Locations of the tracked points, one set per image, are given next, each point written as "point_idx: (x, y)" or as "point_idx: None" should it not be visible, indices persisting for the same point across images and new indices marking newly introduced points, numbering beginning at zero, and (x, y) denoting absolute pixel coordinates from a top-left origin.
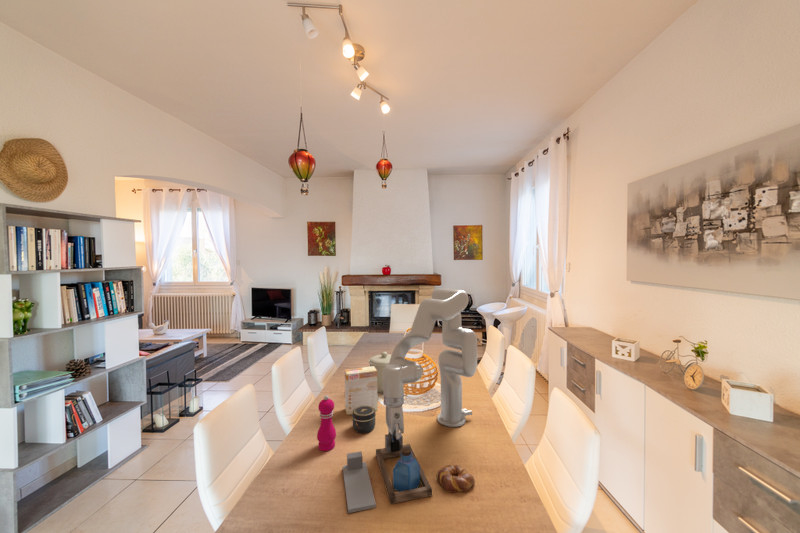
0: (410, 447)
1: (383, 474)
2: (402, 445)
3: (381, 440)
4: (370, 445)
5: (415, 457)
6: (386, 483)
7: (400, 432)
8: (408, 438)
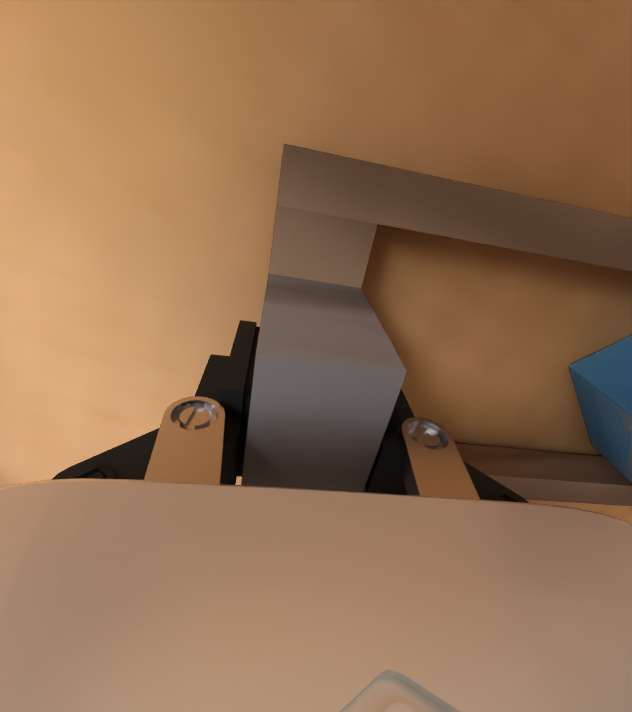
0: (361, 171)
1: (521, 496)
2: (373, 312)
3: (34, 356)
4: (107, 446)
5: (558, 212)
6: (600, 503)
7: (256, 354)
8: (6, 6)
